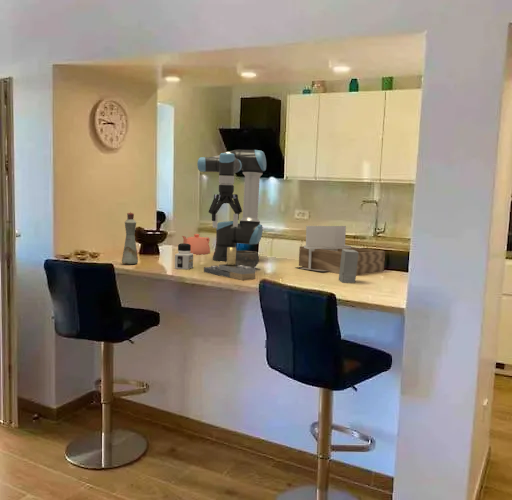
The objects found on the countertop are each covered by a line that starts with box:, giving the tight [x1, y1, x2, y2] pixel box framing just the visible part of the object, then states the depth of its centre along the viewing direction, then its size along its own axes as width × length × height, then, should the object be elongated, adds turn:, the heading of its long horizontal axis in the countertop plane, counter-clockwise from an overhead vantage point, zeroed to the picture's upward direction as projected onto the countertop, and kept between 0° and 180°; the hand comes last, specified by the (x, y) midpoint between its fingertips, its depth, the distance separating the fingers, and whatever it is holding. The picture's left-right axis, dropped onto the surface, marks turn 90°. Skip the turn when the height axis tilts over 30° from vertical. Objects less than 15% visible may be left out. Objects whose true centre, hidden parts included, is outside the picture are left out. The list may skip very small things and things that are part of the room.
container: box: [174, 242, 194, 270], centre depth 301 cm, size 8×8×13 cm
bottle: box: [121, 211, 139, 265], centre depth 310 cm, size 9×9×28 cm
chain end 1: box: [203, 265, 231, 279], centre depth 286 cm, size 8×20×3 cm, turn 43°
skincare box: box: [338, 249, 358, 284], centre depth 273 cm, size 8×7×16 cm
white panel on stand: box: [294, 225, 352, 272], centre depth 318 cm, size 28×21×23 cm
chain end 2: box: [218, 263, 256, 281], centre depth 278 cm, size 8×18×6 cm, turn 43°
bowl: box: [236, 250, 260, 268], centre depth 302 cm, size 14×15×10 cm
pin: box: [226, 246, 237, 272], centre depth 281 cm, size 4×4×14 cm
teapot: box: [181, 233, 211, 256], centre depth 362 cm, size 25×17×13 cm
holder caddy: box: [298, 245, 386, 276], centre depth 317 cm, size 29×36×12 cm
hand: (225, 227), depth 287 cm, fingers open, 13 cm apart
